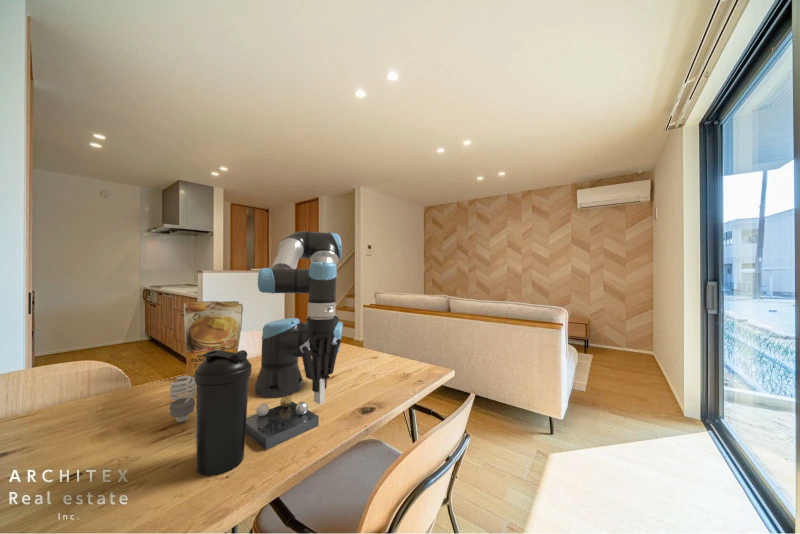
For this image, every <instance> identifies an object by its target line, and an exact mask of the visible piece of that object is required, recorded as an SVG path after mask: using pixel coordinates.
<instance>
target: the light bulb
mask: <svg viewBox="0 0 800 534" xmlns="http://www.w3.org/2000/svg"><path fill="white" fill-rule="evenodd" d="M184 379H188V380H184ZM194 379H195V378H194V377H190V376H185V375H182V376H177V377H176V378H175V381H172V382H171V383H170V384H169V385H170V387H169V391H170V392H169V395H170V397H169V399H170V400H173V401H171V402H170V404H169V409H168V410H169V415H170V417H171V418H175V421H176V422H179V423H184V422H185V421H186V420H187V419H189V415H191V414H192V413H193V412H194V411H195V407H196V406H195V405H196V404H195V403H196V402H195V400H196V399H195V398H194V397H195V395H196V391H197V384H196V383H195V380H194ZM191 380H192V381H191Z"/></svg>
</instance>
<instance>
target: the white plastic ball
mask: <svg viewBox="0 0 800 534" xmlns="http://www.w3.org/2000/svg"><path fill="white" fill-rule="evenodd" d="M269 409H270V406H269V405H268V404H267V403H260V404H259V405H258V406H257V407H256V414H258V415H259V416H264V415H266V414H267V413H268V411H269Z"/></svg>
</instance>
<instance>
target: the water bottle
mask: <svg viewBox="0 0 800 534" xmlns="http://www.w3.org/2000/svg"><path fill="white" fill-rule="evenodd" d="M202 357H206V359H205V361H204V362H202V363H201V364H200V365H199V367H198V369H197V370H196V371H195V379H194V380H195V383H196V404H195V405H196V406H195V410H196V412H195V417H196V418H195V419H196V420H195V426H196V428H195V430H196V433H195V434H196V435H195V438H196V453H195V454H196V455H195V456H196V462H195V463H196V464H195V465H196V472H197V473H198V475H201V476H203V477H215V476H219V475H223V474H226V473H228V472H231V471H232V470H233V469H235V468H237V467H238V466H239V465H241V463H242V461H243V460H244V457H245V445H246V444H245V443H246V433H245V431H246V418H247V417H248V415H247V413H248V400H249V399H248V398H249V384H250V383H249V382H250V376H251V374H252V364H251V362H250V361H249V359H248V358H247V357H248V351H247V350H244V349H240V350H238V352H237V353H233V352H227V351H223V350H212V351H209V352H207V353H205V354H203V355H202Z"/></svg>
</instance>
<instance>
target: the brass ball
mask: <svg viewBox="0 0 800 534" xmlns="http://www.w3.org/2000/svg"><path fill="white" fill-rule="evenodd" d="M291 402H293V400H292V397H291V396H289V395H286V396H281V398H280V401H279V404H280V405H281V406H282V407H288V406H290V404H291Z"/></svg>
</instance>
